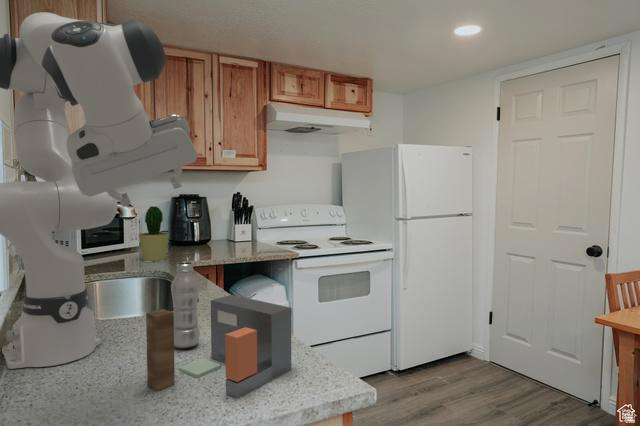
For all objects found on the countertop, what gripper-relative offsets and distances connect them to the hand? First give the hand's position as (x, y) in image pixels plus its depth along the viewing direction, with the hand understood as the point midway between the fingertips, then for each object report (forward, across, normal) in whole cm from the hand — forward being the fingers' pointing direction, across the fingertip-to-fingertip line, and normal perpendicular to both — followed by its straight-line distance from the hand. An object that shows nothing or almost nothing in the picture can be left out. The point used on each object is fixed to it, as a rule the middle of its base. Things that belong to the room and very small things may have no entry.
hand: (152, 195), depth 77 cm
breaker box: (+33, -1, +20) cm, 39 cm away
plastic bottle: (+40, +7, +4) cm, 41 cm away
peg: (+28, +12, +19) cm, 36 cm away
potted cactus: (+111, +19, -112) cm, 159 cm away
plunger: (+26, -3, +26) cm, 37 cm away
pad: (+33, +5, +16) cm, 37 cm away
